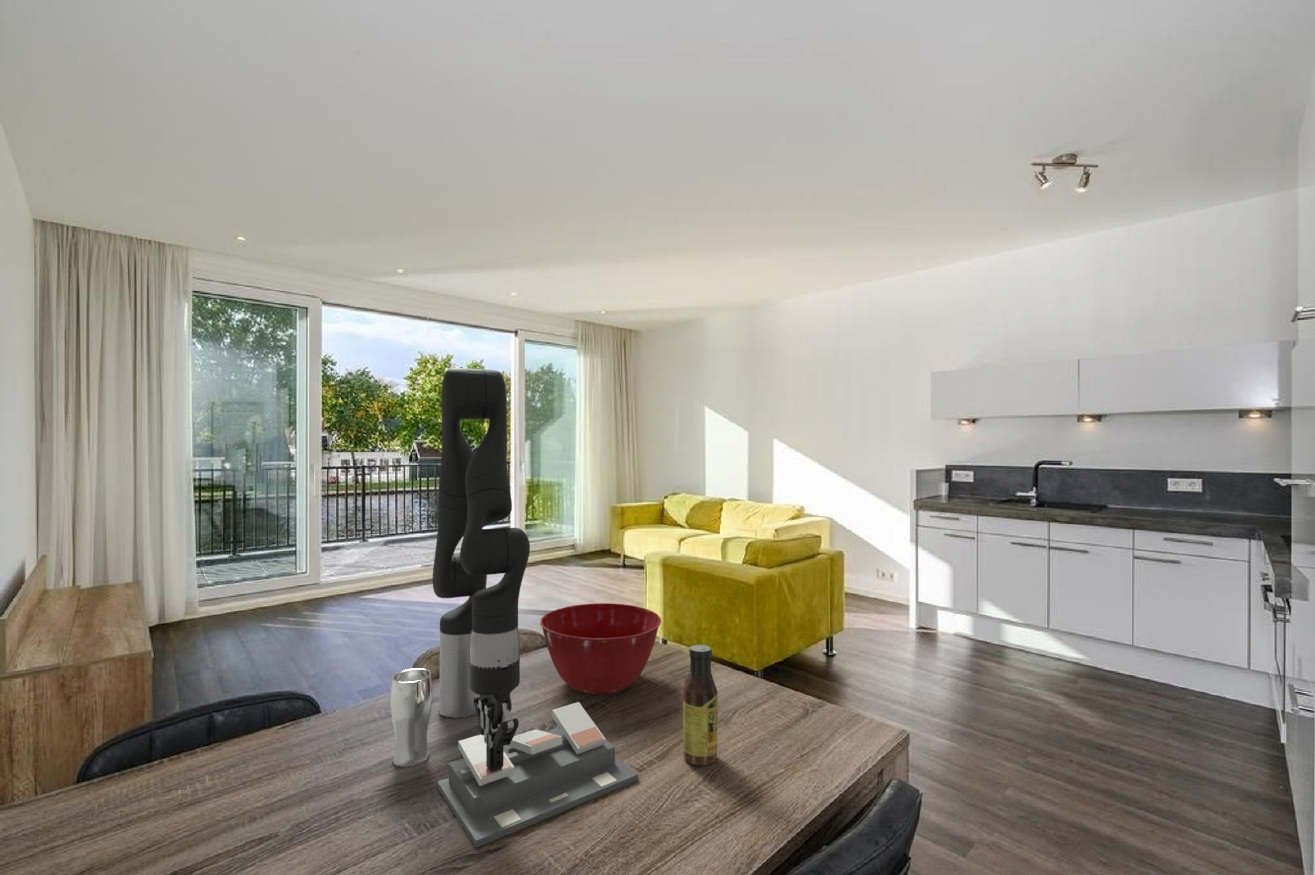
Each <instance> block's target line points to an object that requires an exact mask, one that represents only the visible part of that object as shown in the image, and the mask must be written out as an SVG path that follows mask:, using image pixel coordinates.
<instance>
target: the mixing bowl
mask: <svg viewBox="0 0 1315 875" xmlns="http://www.w3.org/2000/svg"><path fill="white" fill-rule="evenodd" d="M539 622H540V623H539V624H540V626H541V628H542V633H543V636H544V640H545V644H546V647H547V650H548V653H549V656H550V658H551V660H552V663H553V666H554V668H555V669H556V672H557V673H558V675H559V677H560V678H561V679H562V681H563V682H564V683H566V684H567V685H568V686H569V687H571V688H573V689H574V690H575V691H577V692H580V693H582V694H587V695H593V696H600V695H602V696H603V695H610V694H615V693H619V692H621V691H624V690H625V689H626V688H628V687H629V686H630V685H632V684H633V683H635V682H636V680H637V679H639V677H640V676H641V674H642V672H643V671H644V668H645V666H646V665H647V663H648V661H649V658H650V656H651V653H652V651H653V648H654V646H655V641H656V639H657V635H658V631H659V627H660V626H661V624H662V619H661V617H660V616H659V614H657V613H656V612H654V611H652V609H648V608H645V607H640V606H636V605H632V604H625V603H624V604H623V603H608V602H606V603H605V602H602V603H599V602H597V603H584V604H576V605H571V606H570V605H569V606H566V607H560V608H557V609H554V610H551V611H549V612H547V613H546V614H544V615H542V617H541V618H540V620H539Z"/></svg>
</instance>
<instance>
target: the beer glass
mask: <svg viewBox="0 0 1315 875" xmlns="http://www.w3.org/2000/svg"><path fill="white" fill-rule="evenodd" d="M432 680H433V679H432V672H431V670H429V669H426V668H419V667H418V668H408V669H404V670H402V671H399V672H397V673H395V674H393V675H392V678H391V689H390V712H391V713H390V714H391V721H392V726H393V730H394V738H395V743H394V745H395V746H394V751H393V756H392V763H393V762H394V763H393V765H395V766H396V765H397V766H396V767H398V766H400V767H399V768H411V766H412V767H415V765H416V766H418V765H420V764H419V763H421V764H423V763H425V762H426V760H428V759H427V758H430V757H429V756H430V749H429V744H428V729H429V723H430V718H431V713H432V705H433V683H432ZM422 762H423V763H422ZM417 764H418V765H417Z"/></svg>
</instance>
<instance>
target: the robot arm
mask: <svg viewBox="0 0 1315 875" xmlns="http://www.w3.org/2000/svg"><path fill="white" fill-rule="evenodd" d="M506 386H507V385H506V382H505V378H504V376H503V373H502V372H500V371H498V370H495V369H485V368H484V369H482V368H465V367H464V368H463V367H462V368H461V367H453V368H449V369H447V370H445V372H444V374H443V378H442V383H441V456H440V467H439V468H440V469H439V479H438V490H437V491H438V492H437V493H438V494H437V495H438V496H437V533H436V536H437V537H436V544H435V551H434V560H433V568H432V588H433V592H434V594H435V596H436V597H438V598H440V599H454V598H465V597H468V599H467V600H466V601H465V602H464V603H462V604H461V605H459V606H457V607H455V608H454V609H451V610H449V611H447V612H445V613H444V614H443V615H442V616H441V617H440V620H439V701H438V702H439V706H438V708H439V710H438V712H439V711H440V712H439V714H440V713H441V714H440V715H441V716H442V715H444V716H446V717H445V718H448V717H451V718H450V719H453V718H452V717H463V718H465V717H464V716H468V717H470V716H469V715H472V716H476V719H477V723H478V728H479V734H481V735H484V742H485V744H487V745H486V766H487V768H488V769H489V770H490V771H491V772H493V771H496V770H499V769H501V768H502V767H503V762H504V746H505V745H509V744H510V743H511V741H512V739H513V737H514V736H515V735H516V733H517V730H518V727H519V724H520V723H519V719H518V718H517V717H515V718H512V715H511V712H512V710H513V709H512V708H513V705H512V704H513V702H512V699H511V693H512V692H513V691H514V690H515V689H516V688H517V687H518V686H519V685H520V681H521V677H520V676H521V667H520V666H521V660H520V658H521V656H520V654H521V652H520V651H521V650H520V649H521V643H520V642H521V641H520V640H521V639H520V633H519V632H520V631H519V599H520V592H521V588H522V584H523V578H524V575H525V571H526V568H527V566H528V562H529V558H530V553H531V552H530V551H531V544H530V540H529V537H528V535H527V533H526V532H525V531H524V530H523V529H521V528H519V527H504V528H502V527H501V528H489V529H488V528H487V529H483V528H484V527H486V526H488V525H491V524H494V523H497V522H500V521H502V520H505V519H506V518H507V517H509V516H510V514H511V513H512V510H513V502H512V496H511V488H510V479H509V473H508V458H507V457H508V455H507V454H508V448H507V447H508V405H507V404H508V403H507V387H506ZM461 420H488V422H489V423H488V428H487V431H486V433H485V435H484V438H482V440H481V442H480V444H478V447H477V449H476V450H475V451H473V449H472V448H471V446H470V445H469V443H468V441H467V439H466V437H465V435H464V433H463V430H462V427H461ZM461 540H462V542H461V544H460V541H461ZM458 544H460V551H459V552H455V551H456V549H457V547H458ZM499 574H500V575H501V574H503V576H502V578H501V580H500V581H498V583H495V584H494V585H492V586H488V587H487V579H488V576H489V575H499ZM444 716H443V717H444Z"/></svg>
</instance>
